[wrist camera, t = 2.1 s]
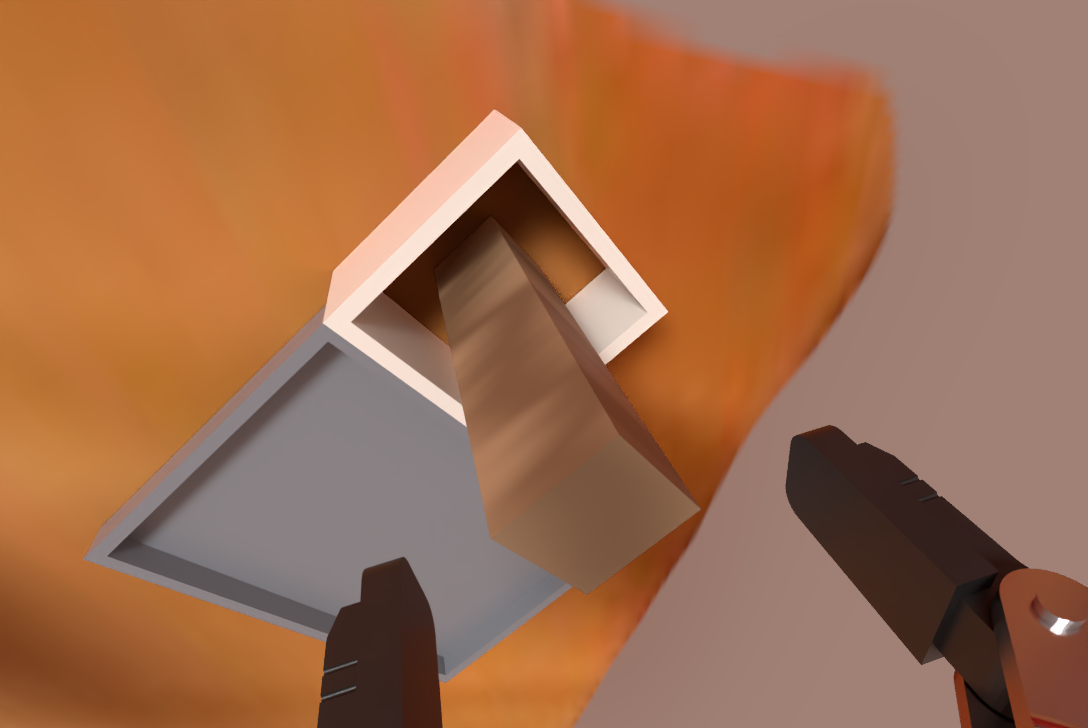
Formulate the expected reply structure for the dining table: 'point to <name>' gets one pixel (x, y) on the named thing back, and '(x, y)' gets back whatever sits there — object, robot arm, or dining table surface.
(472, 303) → the peg
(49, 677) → the dining table surface
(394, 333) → the square frame
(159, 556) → the tray
